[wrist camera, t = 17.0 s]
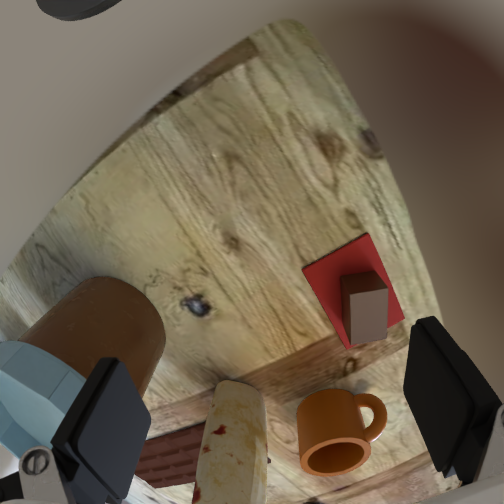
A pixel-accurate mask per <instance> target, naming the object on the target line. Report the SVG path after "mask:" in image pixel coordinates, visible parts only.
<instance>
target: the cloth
mask: <svg viewBox="0 0 504 504" xmlns="http://www.w3.org/2000/svg"><path fill="white" fill-rule="evenodd" d="M374 270H375V271H376V272H377V273H378V275H379V276H380V277H381V279H382V280H383V281H384V282H385V284H386V285H387V286H388V288H389V294H388V322H387V328H389V327H391V326H393V325H394V324H396V323H398V322H400V321H401V320H403V319H405V317H404V315H403V312H402V309H401V307H400V304H399V302H398V299H397V297H396V294H395V292H394V290H393V287H392V285H391V282H390V280H389V278H388V275H387V273H386V271H385V268H384V266H383V264H382V261H381V259H380V257H379V255H378V252H377V250H376V248H375V246H374V244H373V241H372V239H371V237H370V235H369V233H367V234H365V235H363V236H361V237H360V238H358V239H356V240H354V241H352V242H351V243H349V244H347V245H345V246H343V247H342V248H340V249H338V250H336V251H334V252H333V253H331V254H329V255H327V256H325V257H324V258H322V259H320V260H318V261H316V262H314V263H313V264H311V265H309V266H307V267H305V268H303V269H302V272H303V273H304V275H305V277H306V278H307V280H308V282H309V284H310V285H311V287H312V289H313V291H314V292H315V294H316V296H317V298H318V299H319V301H320V303H321V305H322V306H323V308H324V310H325V312H326V313H327V315H328V317H329V319H330V321H331V322H332V324H333V326H334V328H335V329H336V331H337V333H338V335H339V337H340V338H341V340H342V342H343V344H344V346H345V347H346V349H349V348H351V347H353V346H355V345H357V344H355V345H350V343H349V340H348V337H347V335H346V332H345V329H344V327H343V324H342V304H341V284H340V276H342V275H349V274H355V273H362V272H368V271H374Z"/></svg>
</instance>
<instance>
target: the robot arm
mask: <svg viewBox="0 0 504 504" xmlns="http://www.w3.org/2000/svg"><path fill="white" fill-rule="evenodd" d="M403 391H404V395H405V398H406V400H407V402H408V404H409V407H410V409H411V411H412V413H413V416H414V418H415V420H416V423H417V425H418V427H419V429H420V432H421V434H422V437H423V439H424V441H425V444H426V446H427V449H428V451H429V453H430V456H431V458H432V461H433V463H434V466H435V468H436V470H437V471H438V472H441V471H442V473H443V476H444V478H447V477H450V476H452V475H455V474H457V477H458V479H459V480H460V483H459V485H458V488H457V489H454V490H451V491H449V492H446V493H443V494H440V495H438V496H435V497H432V498H429V499H426V500H423V501H420V502H416V503H413V504H504V403H503V404H502V402H501V401H500V399H499V398H498V396H497V395H496V393H495V392H494V391H493V389H492V388H491V386H490V385H489V383H488V382H487V381H486V379H485V378H484V377H483V375H482V374H481V373H480V371H479V370H478V368H477V367H476V366H475V364H474V363H473V362H472V360H471V359H470V358H469V356H468V355H467V354H466V352H464V351H463V350H461V349H460V347H459V346H458V345H457V343H456V342H455V341H454V340H453V338H452V337H451V336H450V334H449V333H448V332H447V331H446V329H445V328H444V327H443V326H442V324H441V323H440V322H439V321H438V319H437V318H436V317H435V316H430V317H426V318H421V319H418V320H417V321H416V324H415V325H412V327H411V333H410V342H409V350H408V358H407V365H406V372H405V378H404V384H403ZM150 425H151V416H150V413H149V412H148V410H147V408H146V406H145V404H144V402H143V400H142V398H141V396H140V394H139V392H138V390H137V388H136V386H135V384H134V382H133V380H132V378H131V376H130V374H129V372H128V370H127V368H126V366H125V364H124V362H122V361H120V360H119V359H118V358H117V357H102V358H100V359H99V361H98V362H97V364H96V366H95V367H94V369H93V370H92V372H91V374H90V375H89V377H88V378H87V380H86V382H85V383H84V385H83V387H82V388H81V390H80V391H79V393H78V395H77V396H76V398H75V400H74V401H73V403H72V405H71V406H70V408H69V410H68V411H67V413H66V415H65V417H64V418H63V420H62V422H61V423H60V425H59V427H58V429H57V430H56V432H55V434H54V436H53V437H52V439H51V441H50V443H51V444H52V445H53V447H52V449H51V450H50V449H49V448H48V447H46V446H42V445H38V446H34V447H31V448H30V449H28V450H27V451H25V452H24V453H23V455H22V456H21V458H20V460H19V464H18V469H19V471H17V472H15V473H12V474H10V475H8V476H6V477H3V478H1V479H0V504H105V502H106V503H109V504H121V502H122V499H125V498H126V497H127V495H128V491H129V488H130V485H131V482H132V479H133V476H134V473H135V470H136V466H137V463H138V460H139V457H140V454H141V451H142V448H143V445H144V442H145V439H146V436H147V433H148V430H149V428H150Z"/></svg>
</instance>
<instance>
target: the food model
mask: <svg viewBox="0 0 504 504" xmlns="http://www.w3.org/2000/svg"><path fill="white" fill-rule="evenodd" d="M266 489H267V414H266V406H265V403H264V400H263V397H262V396H261V395H260V393H259V392H258V391H257V390H256V389H255V388H253V387H252V386H250V385H247V384H243V383H239V382H235V381H230V380H224V381H222V382H219V383H218V384H217V386H216V388H215V392H214V396H213V399H212V403H211V406H210V409H209V412H208V416H207V420H206V425H205V429H204V434H203V439H202V444H201V449H200V454H199V459H198V465H197V472H196V479H195V487H194V493H193V499H192V504H266V503H267V491H266Z"/></svg>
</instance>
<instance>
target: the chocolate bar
mask: <svg viewBox="0 0 504 504" xmlns="http://www.w3.org/2000/svg"><path fill="white" fill-rule="evenodd" d="M205 425H206V422H204V423H201V424H198V425H195V426H192V427H189V428H186V429H183V430H180V431H177V432H173V433H170V434H167V435H164V436H160V437H157V438H153V439H150V440H146V441H145V442H144V445H143V448H142V451H141V454H140V457H139V460H138V463H137V466H136V470H135V473H134V474H135V475H136V476H138V477H139V478H141V479H142V480H145V481H146V482H147V483H148V484H149V485H151V486H152V487H154V488H162V487H169V486H173V485H174V486H175V485H181V484H187V483H191V482H195V479H196V472H197V465H198V459H199V454H200V449H201V444H202V439H203V434H204V429H205ZM268 463H271V460H270V459H269V458H268V457H267V464H268Z"/></svg>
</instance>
